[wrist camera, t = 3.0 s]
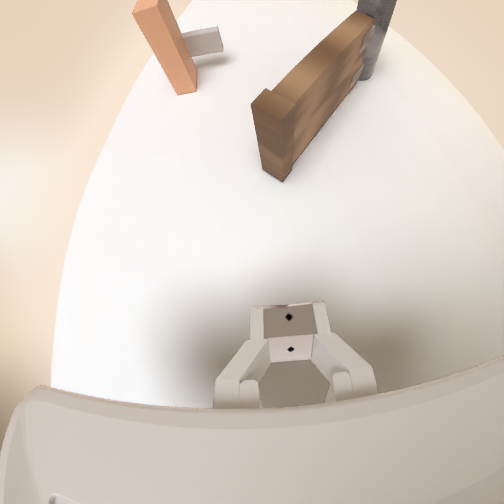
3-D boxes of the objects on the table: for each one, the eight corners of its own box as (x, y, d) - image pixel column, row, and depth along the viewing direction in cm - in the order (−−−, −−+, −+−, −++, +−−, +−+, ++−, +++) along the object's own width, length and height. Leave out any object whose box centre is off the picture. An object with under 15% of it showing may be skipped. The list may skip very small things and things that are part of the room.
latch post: (227, 61, 26) (203, -25, 14) (228, 86, 26) (200, -6, 14) (179, 70, 27) (141, -9, 15) (177, 95, 26) (131, 13, 14)
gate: (342, 72, 24) (356, 4, 15) (359, 82, 24) (379, 14, 15) (262, 169, 24) (250, 104, 14) (282, 181, 23) (281, 120, 14)
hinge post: (367, 61, 25) (395, -36, 11) (375, 82, 24) (412, -19, 11) (340, 59, 25) (358, -43, 11) (347, 80, 25) (372, -27, 11)
